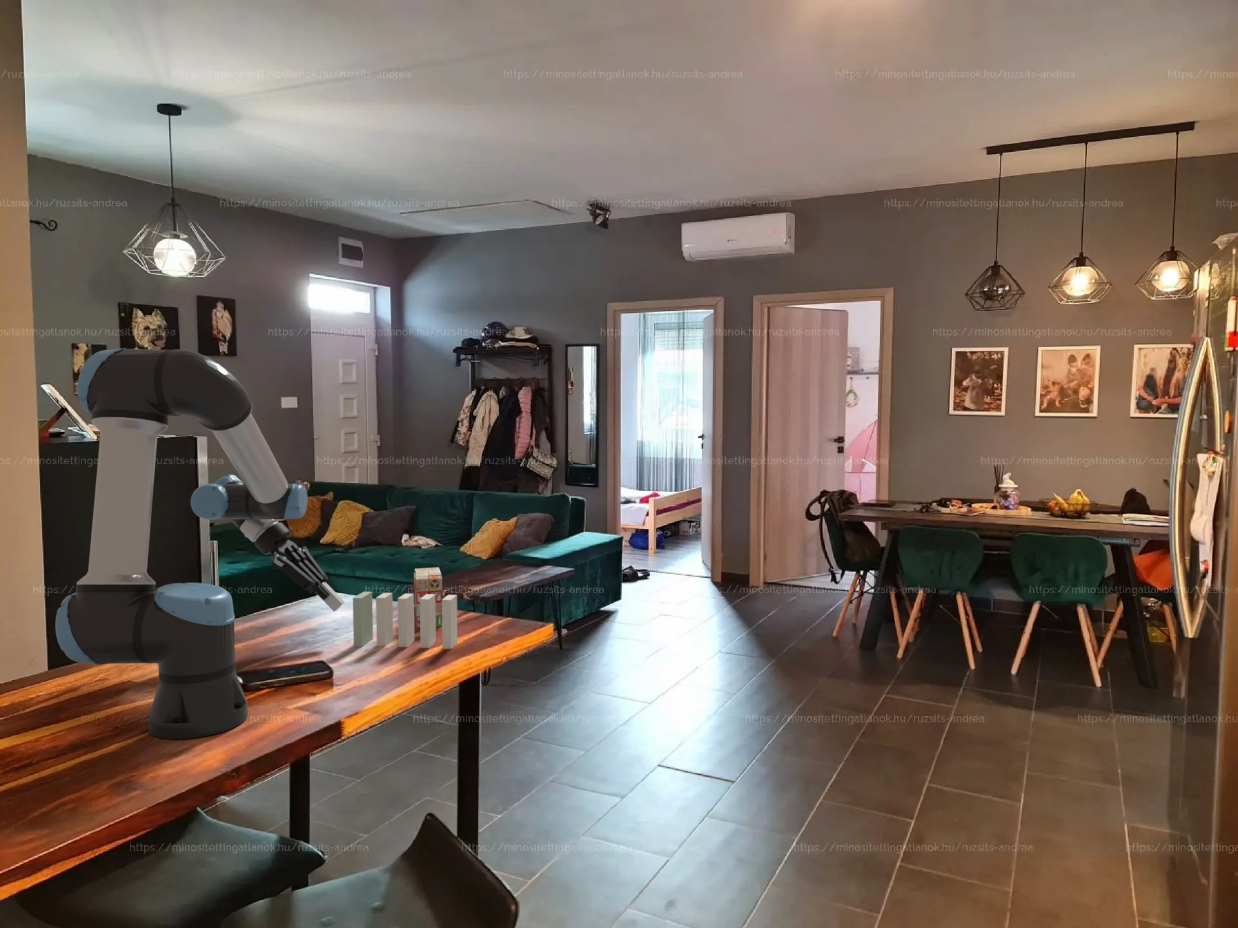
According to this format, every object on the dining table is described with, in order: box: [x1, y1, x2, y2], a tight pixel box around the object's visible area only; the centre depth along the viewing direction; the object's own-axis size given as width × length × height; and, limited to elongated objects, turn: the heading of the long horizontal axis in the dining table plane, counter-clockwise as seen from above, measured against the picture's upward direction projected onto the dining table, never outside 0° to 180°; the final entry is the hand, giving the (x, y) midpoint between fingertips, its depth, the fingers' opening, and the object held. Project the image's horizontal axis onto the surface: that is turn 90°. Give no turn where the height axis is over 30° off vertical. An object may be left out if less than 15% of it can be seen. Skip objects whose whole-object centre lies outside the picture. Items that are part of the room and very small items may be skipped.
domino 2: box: [397, 593, 415, 648], centre depth 188 cm, size 2×5×11 cm, turn 175°
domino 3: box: [419, 594, 437, 649], centre depth 187 cm, size 2×5×11 cm, turn 175°
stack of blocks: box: [413, 567, 443, 629], centre depth 211 cm, size 21×6×12 cm, turn 15°
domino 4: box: [441, 594, 458, 650], centre depth 187 cm, size 2×5×11 cm, turn 175°
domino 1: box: [375, 592, 394, 647], centre depth 188 cm, size 2×5×11 cm, turn 175°
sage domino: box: [352, 591, 374, 648], centre depth 188 cm, size 2×6×11 cm, turn 175°
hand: (339, 606), depth 189 cm, fingers closed
